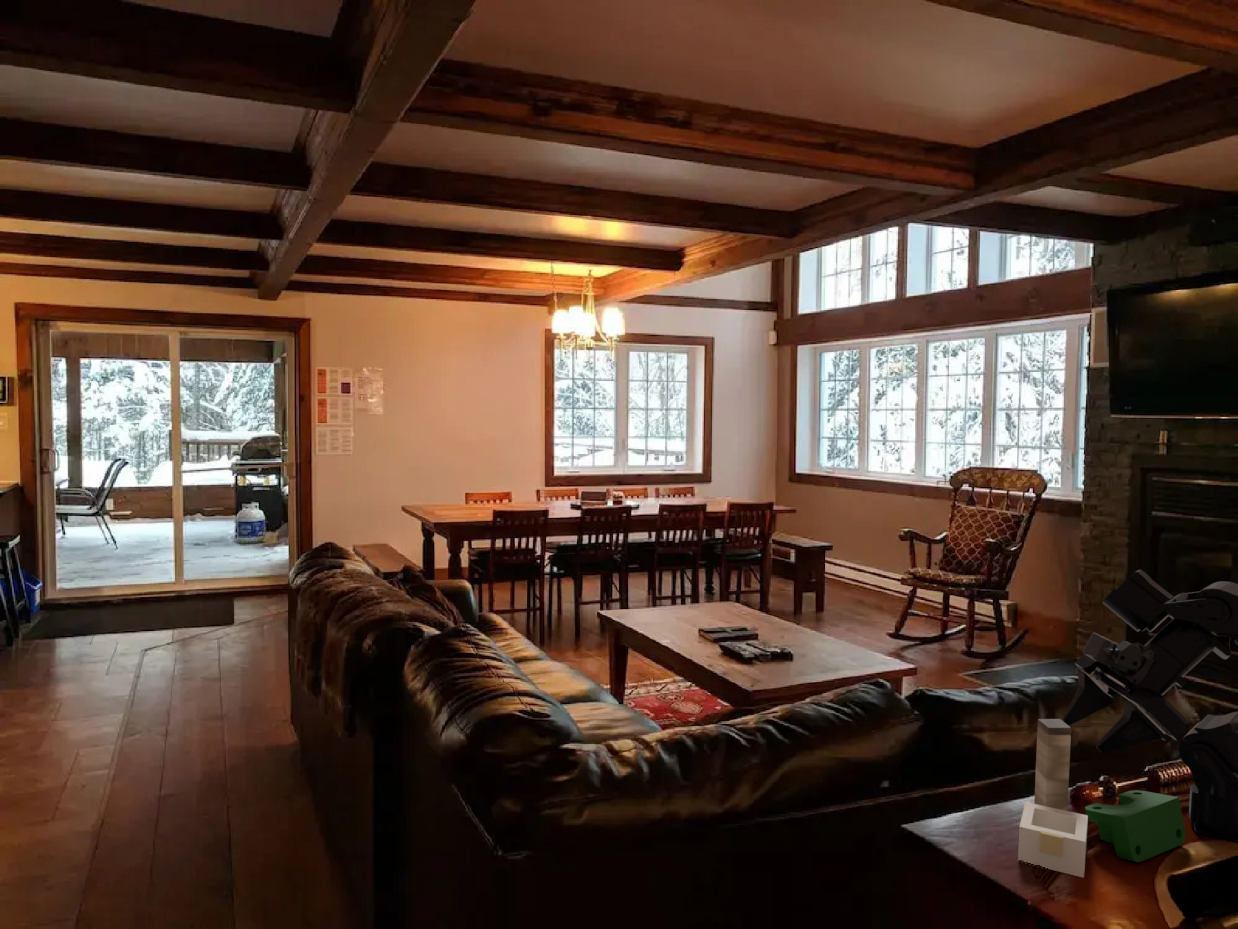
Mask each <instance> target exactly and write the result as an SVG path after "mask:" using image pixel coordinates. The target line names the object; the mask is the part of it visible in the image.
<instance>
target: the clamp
mask: <svg viewBox="0 0 1238 929" xmlns="http://www.w3.org/2000/svg"><path fill="white" fill-rule="evenodd" d="M1118 799H1119V800H1118V801H1119V804H1117V805H1116V804H1105V803H1099V802H1094V803H1091V804H1089V805H1086V806H1085V807H1084V809H1085V815H1088V822H1091V823H1096V824H1097V828H1098V833H1099V838H1100V840H1102V841H1103V842H1107V843H1111V844H1113V847H1114V851H1115V854H1116V855H1117V857H1118V858H1120V859H1123V860H1126V861H1127V860H1128V861H1131V862H1135V863H1142V862H1143V861H1146V860H1148V859H1150V858H1153V857H1155V856H1158V855H1161V854H1163V853H1165V852H1168V851H1170V850H1172V849H1175V848H1177V847H1179V846H1182V845H1183V844H1184V843H1185V840H1186V832H1187V831H1186V828H1185V823H1184V817H1183V811H1182V807H1181V802H1180V801H1181V800H1180V797H1179V796H1174V795H1169V794H1163V793H1157V792H1151V791H1146V790H1138V789H1137V790H1128V791H1126V792H1123V793H1119V794H1118Z"/></svg>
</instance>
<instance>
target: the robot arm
mask: <svg viewBox="0 0 1238 929" xmlns="http://www.w3.org/2000/svg"><path fill="white" fill-rule="evenodd" d="M1102 604H1103V605H1104V606H1105V607H1107V608H1108V609H1109V610H1110V611H1111V612H1113V613H1114V614H1115V615H1116V616H1118V618H1120V619H1121V620H1123V621H1124V622H1125V623H1126V624H1127V625H1129V626H1130V627H1131V628H1132V629H1133V630H1135V631H1136V632H1140V631H1141V632H1144V631H1145V630H1147V631H1148V632H1150V633H1152V632H1153V631H1154V630H1155V629H1157V627H1159V625H1161V624H1162V623H1163V622H1164V621H1165V620H1166V619H1168V617H1169V618H1171V620H1170V621H1169V622H1168V623H1167V624H1166V625H1165V626H1164V627H1163V628H1162V629H1161V630H1159V631H1158V632H1157V633H1156V634H1155V635H1154V636H1153V637H1152V638H1151V639H1150V640H1148V641H1147V642H1146V643H1145V644H1142V643H1140V642H1139V641H1137V642H1133V643H1131V642H1129V641H1126V640H1122V641H1121V642H1120V643H1118V642H1116V641H1113V640H1111V638H1107V637H1106V636H1102V635H1101V634H1099V633H1097V632H1093V631H1092V633H1091V634H1090V635H1091V636H1090V637H1089V639H1088V641H1087V642H1086V644H1085V647H1084V649H1083V651H1082V653H1083V654H1081V655H1080V657H1079V658H1078V659H1077V660H1075V661H1074V664H1075V666H1077V667H1076V668H1075V673H1076V674H1077V679H1078V687H1077V689H1076V692H1075V694H1074V696H1073V698H1072V699H1071V702H1070V704H1069V705H1068V708H1067V710H1066V712H1065V714H1064V715H1063V717H1062V721H1063V722H1064V723H1066V724H1067V725H1068V726H1071V725H1073V724H1076V723H1077V722H1080V721H1083V720H1084V719H1085V718H1088V717H1089V716H1091V715H1094V714H1095V713H1097V712H1099V711H1101V710H1104V709H1105V708H1106V707H1109V706H1111V705H1112V704H1115V701H1114V700H1113V699H1115V698H1119V697H1121V696H1122V698H1125V699H1124V702H1123V703H1124V704H1123V713H1122V716H1121V717H1120V718H1119V719H1118V720H1117V721H1116V723H1115V724H1113V726H1112V727H1111V728H1110V729H1109V730H1108V731H1107V732H1106V733H1105V734H1104V735H1103V737H1102V738H1101V739H1100V740H1099V742H1098V743H1097V744H1096V746H1095V747H1096V749H1097V750H1098V751H1099V752H1100V753H1101V754H1105V753H1109V752H1113V751H1115V750H1120V749H1124V748H1126V747H1132V746H1135V745H1141V744H1144V743H1149V742H1155V741H1159V740H1163V741H1168V740H1169V737H1171V738H1172V739H1173V740H1175V741H1178V740H1180V739H1181V740H1180V742H1179V744H1178V753H1179V756H1180V758H1181V761H1182V762H1183V764H1184V765H1185V766H1186V767H1187V768H1188V769H1189V770H1190V772H1191V775H1192V778H1193V781H1194V783H1195V784H1191V785H1190V788H1189V789H1190V791H1189V803H1188V804H1189V805H1188V806H1189V807H1188V815H1189V816H1188V817H1189V821H1190V822H1191V823H1193V827H1194V833H1197V834H1199V835H1204V836H1209V837H1213V838H1218V839H1222V840H1228V841H1233V842H1237V843H1238V711H1233V712H1229V713H1227V714H1223V715H1215V714H1210V713H1209V714H1207V715H1206V716H1205V717H1204V718H1203V719H1202V720H1201V721H1199V722H1197V723H1196V724H1195V725H1194V726H1193V727H1192V728H1191V729H1190V730H1189V720H1188V719H1187V718H1186V717H1185V715H1183V714H1182V713H1181V712H1180V711H1179V710H1178V709H1177V708H1176V707H1175V706H1174V705H1173V704H1172V703H1171V702H1169V700H1168V699H1167V698H1166V697H1165V696H1164V695H1165V694H1166V693H1167V692H1168V691H1169V690H1171V688H1172V687H1173V686H1174V685H1177V686H1178V687H1180V688H1184V687H1185V686H1186V685H1188V681H1187V680H1186V679H1185V678H1184V676H1186V675H1187V674H1188V673H1189V672H1190V671H1191V670H1192V669H1193V668H1194V667H1196V666H1197V665H1198V664H1199V663H1200V662H1201V661H1202V660H1203V659H1205V657H1206V656H1208V655H1209V653H1211V652H1213V653H1214V654H1216V656H1218V657H1220V658H1221V659H1223V660H1227V659H1229V658H1230V657H1231V655H1232V650H1231V643H1230V642H1231V640H1232V639H1231V637H1230V636H1229V635H1233V636H1238V583H1236V582H1232V581H1224V580H1223V581H1221V580H1220V581H1216V582H1213V583H1211V584H1210V585H1208V586H1206V587H1204V588H1203V589H1201V590H1200V591H1194V592H1193V591H1192V592H1182V593H1179V594H1177V595H1175V596H1173V595H1172V594H1171V593H1170V592H1168V591H1167V590H1166V589H1164V588H1163V587H1162V586H1161V585H1159V584H1158V583H1157V582H1155V581H1154V580H1153V579H1152V578H1151V576H1149V575H1148V574H1147V573H1146V572H1145V571H1144V570H1142V569H1138V570H1136V571H1134V572H1133V573H1132V574H1131V575H1130V576H1129V577H1127V579H1126V580H1125V581H1123V583H1121V584H1120V585H1119V586H1117V587H1115V588H1113V589H1112V590H1111V592H1109V594H1108V595H1107V596H1106V597H1105V599H1104V600H1103V601H1102ZM1218 634H1222V635H1218ZM1223 634H1225V635H1223ZM1168 736H1169V737H1168Z"/></svg>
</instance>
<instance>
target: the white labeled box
mask: <svg viewBox="0 0 1238 929" xmlns="http://www.w3.org/2000/svg"><path fill="white" fill-rule="evenodd" d="M1088 822H1089V821H1088V815H1086V814H1082V813H1078V812H1073V811H1069V810H1067V811H1065V810H1060V809H1056V808H1051V807H1046V806H1042V805H1037V804H1034V803H1032V802H1027V801H1025V802H1024V806H1023V810H1022V814H1021V819H1020V823H1019V826H1018V827H1019V832H1018V851H1017V852H1018V854H1017V861H1018V860H1023V861H1024V862H1028V863H1031V864H1034V865H1033V866H1035V865H1040V866H1042V867H1041V868H1043V867H1045V868H1044V869H1047V868H1048V869H1047V870H1051V871H1054V872H1059V873H1064V874H1066V875H1072V876H1075V877H1079V878H1085V870H1086V869H1085V868H1086V859H1087V858H1086V856H1087V843H1088V842H1087V841H1088V840H1087V839H1088V825H1089V823H1088ZM1031 864H1030V865H1031Z"/></svg>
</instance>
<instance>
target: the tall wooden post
mask: <svg viewBox="0 0 1238 929" xmlns="http://www.w3.org/2000/svg"><path fill="white" fill-rule="evenodd" d="M1036 734H1037V735H1036V752H1035V754H1036V755H1035V757H1036V759H1035V775H1034V776H1035V779H1034V780H1035V782H1034V784H1035V785H1034V800H1033V802H1034V803H1033V804H1037V805H1042V806H1046V807H1051V808H1056V809H1060V810H1065V811H1068V803H1069V784H1070V783H1069V781H1070V780H1069V779H1070V763H1071V762H1070V760H1071V741H1072V740H1071V738H1072V737H1071V735H1072V727H1071V725H1067V724H1066V723H1065V722H1064V721H1063V719H1061V718H1037V732H1036Z"/></svg>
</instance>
